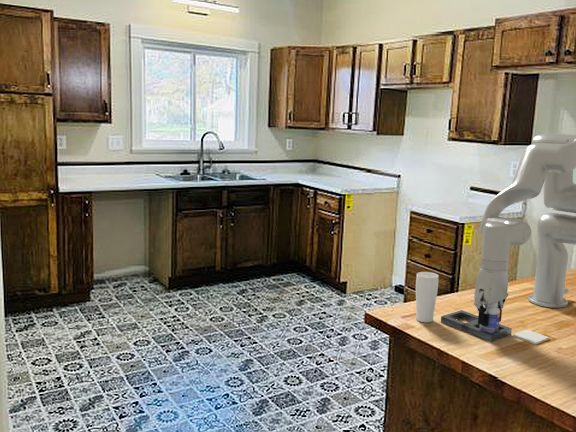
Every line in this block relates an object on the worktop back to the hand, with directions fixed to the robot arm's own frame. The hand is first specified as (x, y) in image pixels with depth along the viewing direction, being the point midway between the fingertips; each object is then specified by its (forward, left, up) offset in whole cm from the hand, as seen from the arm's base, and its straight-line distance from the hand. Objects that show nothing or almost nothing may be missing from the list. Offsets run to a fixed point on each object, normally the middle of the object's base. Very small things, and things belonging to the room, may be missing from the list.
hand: (489, 322), depth 161 cm
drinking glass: (+8, -17, -4) cm, 20 cm away
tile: (-8, +9, -3) cm, 12 cm away
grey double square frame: (0, -4, -3) cm, 6 cm away
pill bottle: (0, 0, -3) cm, 3 cm away
